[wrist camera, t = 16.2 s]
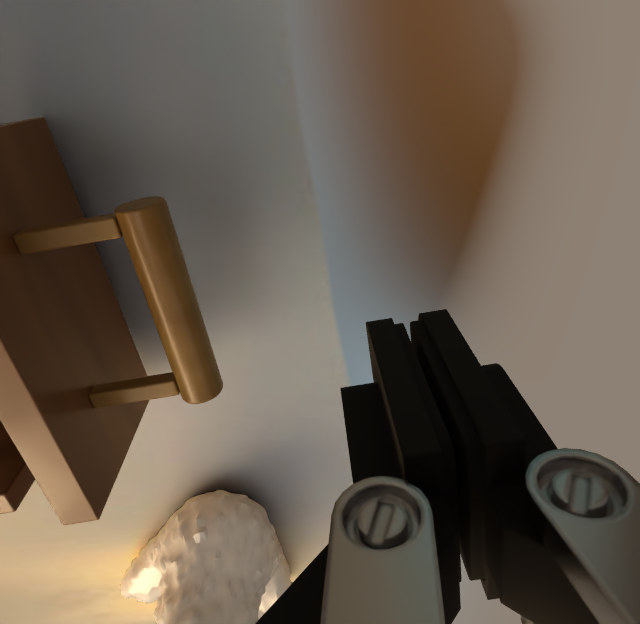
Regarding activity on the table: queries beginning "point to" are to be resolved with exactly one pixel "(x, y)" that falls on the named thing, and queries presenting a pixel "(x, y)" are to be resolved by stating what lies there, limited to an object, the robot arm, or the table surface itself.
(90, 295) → the drawer
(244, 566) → the sitting furry creature
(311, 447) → the table surface
